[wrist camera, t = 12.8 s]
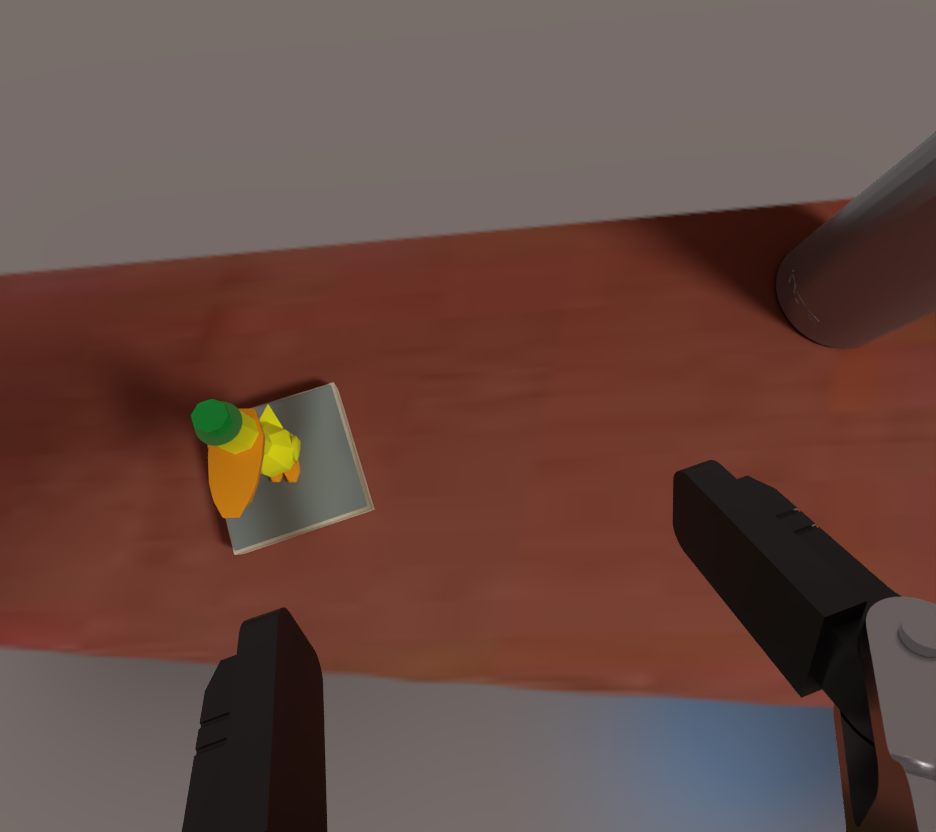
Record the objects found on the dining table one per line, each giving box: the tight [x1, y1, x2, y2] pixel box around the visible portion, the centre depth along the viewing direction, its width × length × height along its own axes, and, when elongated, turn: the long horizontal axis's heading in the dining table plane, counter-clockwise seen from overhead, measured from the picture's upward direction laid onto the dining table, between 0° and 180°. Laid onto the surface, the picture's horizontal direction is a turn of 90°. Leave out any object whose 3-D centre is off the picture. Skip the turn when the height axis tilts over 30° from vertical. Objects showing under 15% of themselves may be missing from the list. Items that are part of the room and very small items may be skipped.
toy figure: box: [191, 399, 301, 518], centre depth 29 cm, size 7×4×12 cm, turn 1°
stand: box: [207, 382, 375, 555], centre depth 36 cm, size 9×9×2 cm
